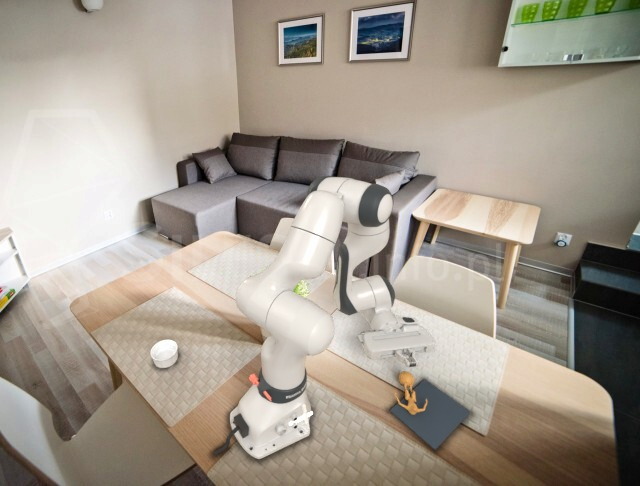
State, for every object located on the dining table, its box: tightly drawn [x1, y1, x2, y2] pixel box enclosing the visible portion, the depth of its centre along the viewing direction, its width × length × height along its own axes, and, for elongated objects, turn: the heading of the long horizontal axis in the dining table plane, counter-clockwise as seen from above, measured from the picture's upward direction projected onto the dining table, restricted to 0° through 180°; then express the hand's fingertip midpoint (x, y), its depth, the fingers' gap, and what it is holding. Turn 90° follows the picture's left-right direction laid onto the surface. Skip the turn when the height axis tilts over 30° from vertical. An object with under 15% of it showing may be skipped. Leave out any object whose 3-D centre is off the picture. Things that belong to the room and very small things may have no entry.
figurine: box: [393, 371, 427, 415], centre depth 89 cm, size 8×6×12 cm
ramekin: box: [149, 339, 179, 369], centre depth 108 cm, size 9×9×4 cm
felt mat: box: [389, 379, 471, 451], centre depth 86 cm, size 16×12×1 cm
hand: (412, 365), depth 89 cm, fingers closed
